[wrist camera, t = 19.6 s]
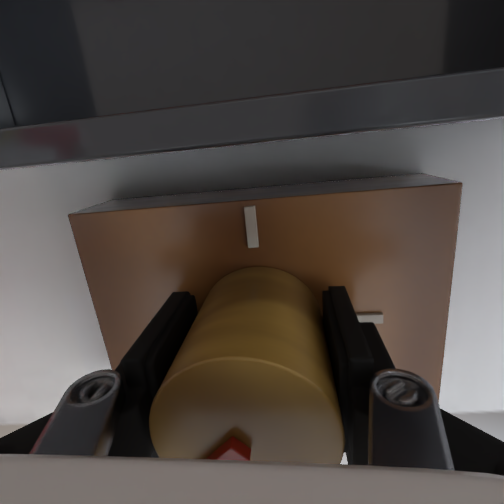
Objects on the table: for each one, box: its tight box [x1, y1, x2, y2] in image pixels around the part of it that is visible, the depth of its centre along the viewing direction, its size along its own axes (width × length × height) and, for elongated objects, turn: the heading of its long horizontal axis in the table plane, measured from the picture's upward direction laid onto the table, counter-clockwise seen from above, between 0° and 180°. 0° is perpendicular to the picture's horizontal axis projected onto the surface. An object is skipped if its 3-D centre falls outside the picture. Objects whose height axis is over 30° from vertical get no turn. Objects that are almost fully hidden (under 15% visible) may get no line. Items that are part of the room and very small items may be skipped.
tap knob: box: [149, 267, 345, 464], centre depth 9 cm, size 4×4×5 cm
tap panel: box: [68, 173, 463, 402], centre depth 13 cm, size 13×9×3 cm
